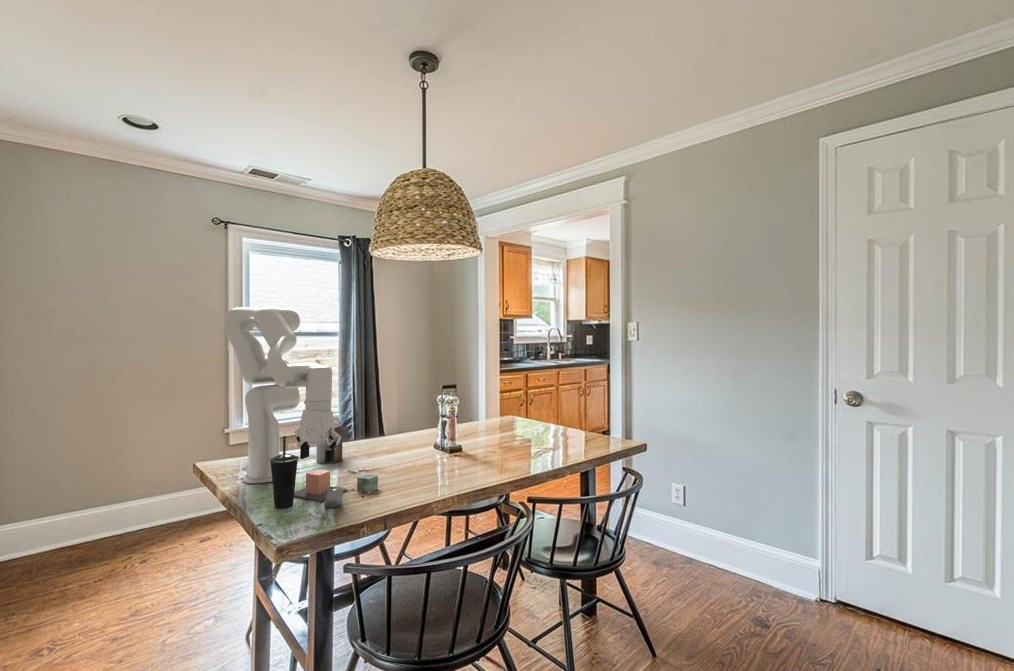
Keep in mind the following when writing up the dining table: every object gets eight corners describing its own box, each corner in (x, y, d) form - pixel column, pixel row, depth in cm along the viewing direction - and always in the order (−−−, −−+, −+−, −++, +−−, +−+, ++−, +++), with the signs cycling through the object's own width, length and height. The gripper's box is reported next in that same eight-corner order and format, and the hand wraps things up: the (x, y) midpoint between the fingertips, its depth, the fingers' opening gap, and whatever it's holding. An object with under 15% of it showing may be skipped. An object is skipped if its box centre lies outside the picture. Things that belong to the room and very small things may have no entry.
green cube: (357, 491, 152) (357, 477, 152) (366, 487, 156) (366, 473, 156) (369, 493, 151) (369, 479, 151) (377, 489, 155) (377, 475, 155)
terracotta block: (305, 492, 149) (305, 473, 149) (317, 488, 153) (317, 469, 153) (318, 495, 147) (318, 475, 147) (330, 490, 151) (330, 471, 151)
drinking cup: (302, 501, 143) (303, 433, 143) (292, 510, 135) (292, 439, 135) (276, 501, 143) (276, 433, 143) (264, 510, 135) (264, 439, 135)
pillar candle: (346, 457, 193) (346, 420, 193) (335, 464, 183) (335, 424, 183) (323, 457, 194) (323, 419, 194) (311, 463, 184) (311, 424, 184)
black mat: (288, 496, 147) (288, 494, 147) (314, 485, 157) (314, 483, 157) (322, 502, 142) (322, 500, 142) (347, 490, 153) (347, 488, 153)
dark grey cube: (320, 508, 138) (320, 490, 138) (332, 502, 142) (332, 485, 142) (334, 510, 136) (334, 492, 136) (346, 504, 141) (346, 487, 141)
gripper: (287, 404, 150) (286, 459, 150) (332, 410, 143) (330, 467, 144) (305, 401, 157) (304, 453, 157) (349, 406, 150) (347, 461, 151)
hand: (316, 460), depth 150 cm, fingers open, 9 cm apart
